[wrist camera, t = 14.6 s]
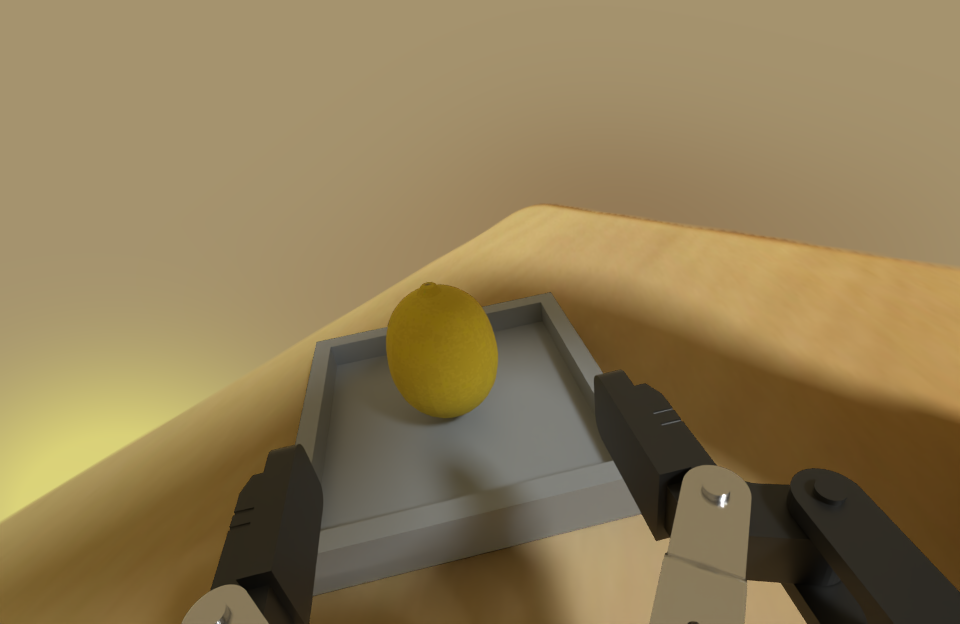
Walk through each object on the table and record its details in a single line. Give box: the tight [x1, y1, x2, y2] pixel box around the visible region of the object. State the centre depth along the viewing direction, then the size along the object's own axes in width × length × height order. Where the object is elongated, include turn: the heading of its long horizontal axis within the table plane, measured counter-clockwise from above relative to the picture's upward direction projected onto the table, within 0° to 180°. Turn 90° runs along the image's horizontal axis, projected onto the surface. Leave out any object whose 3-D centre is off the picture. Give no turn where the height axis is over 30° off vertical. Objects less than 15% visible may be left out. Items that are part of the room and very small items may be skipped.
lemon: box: [386, 282, 498, 418], centre depth 25 cm, size 6×6×8 cm
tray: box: [295, 292, 641, 596], centre depth 27 cm, size 16×16×2 cm
